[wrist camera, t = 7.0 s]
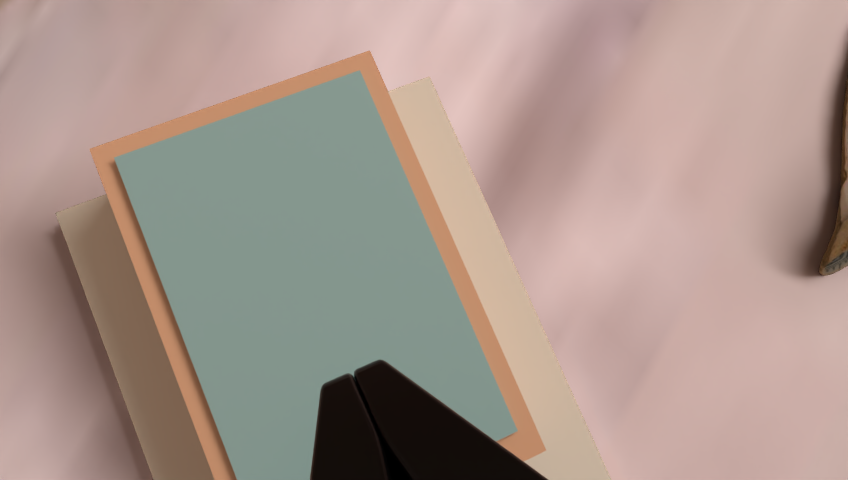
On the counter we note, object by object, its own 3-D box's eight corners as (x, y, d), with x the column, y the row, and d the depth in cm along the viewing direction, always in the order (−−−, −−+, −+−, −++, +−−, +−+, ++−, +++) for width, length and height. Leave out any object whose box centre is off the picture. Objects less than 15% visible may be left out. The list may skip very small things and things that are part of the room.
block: (548, 451, 14) (369, 46, 15) (255, 593, 13) (86, 146, 14) (518, 440, 16) (365, 90, 17) (268, 559, 15) (122, 178, 16)
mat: (630, 538, 17) (640, 544, 16) (255, 733, 15) (251, 748, 14) (426, 85, 18) (429, 76, 18) (65, 218, 16) (55, 212, 16)
